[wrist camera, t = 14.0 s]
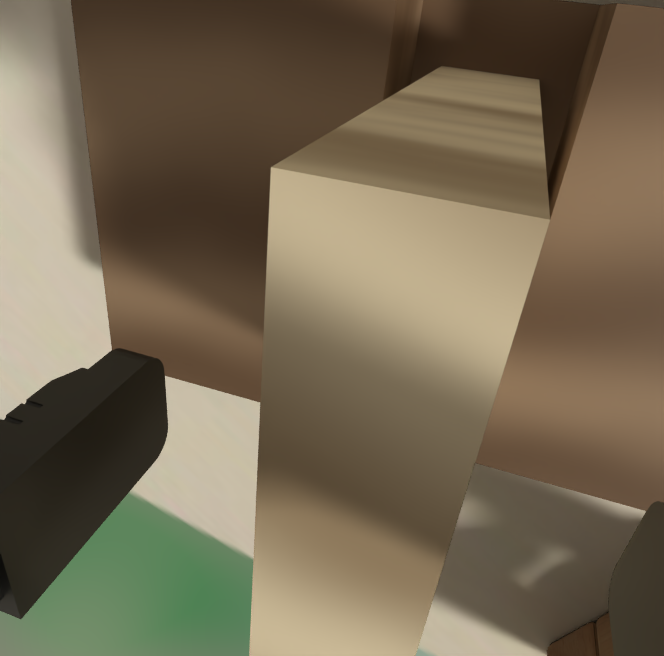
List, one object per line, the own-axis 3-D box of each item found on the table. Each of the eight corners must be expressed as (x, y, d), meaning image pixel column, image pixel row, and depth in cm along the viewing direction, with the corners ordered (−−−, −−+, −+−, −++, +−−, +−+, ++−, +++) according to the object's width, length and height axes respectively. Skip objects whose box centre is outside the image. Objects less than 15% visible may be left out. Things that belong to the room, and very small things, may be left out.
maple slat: (441, 66, 18) (271, 168, 6) (538, 79, 17) (549, 220, 6) (393, 334, 23) (249, 666, 11) (467, 352, 22) (394, 722, 11)
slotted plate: (162, -43, 20) (64, -58, 16) (975, 46, 15) (1147, 61, 11) (178, 306, 27) (113, 361, 23) (731, 446, 22) (778, 548, 18)
